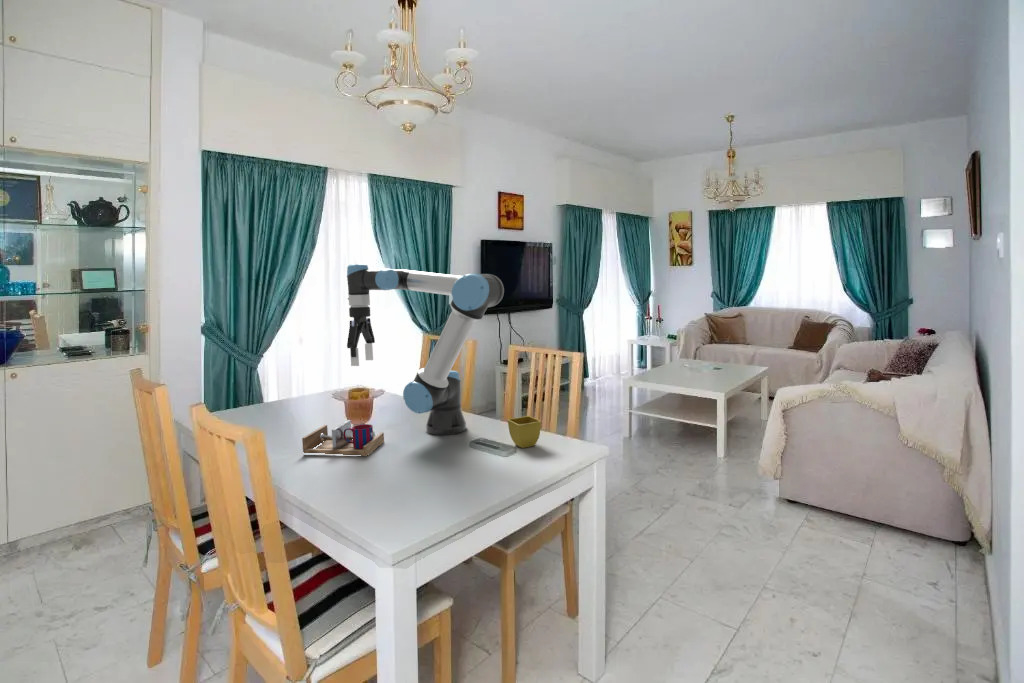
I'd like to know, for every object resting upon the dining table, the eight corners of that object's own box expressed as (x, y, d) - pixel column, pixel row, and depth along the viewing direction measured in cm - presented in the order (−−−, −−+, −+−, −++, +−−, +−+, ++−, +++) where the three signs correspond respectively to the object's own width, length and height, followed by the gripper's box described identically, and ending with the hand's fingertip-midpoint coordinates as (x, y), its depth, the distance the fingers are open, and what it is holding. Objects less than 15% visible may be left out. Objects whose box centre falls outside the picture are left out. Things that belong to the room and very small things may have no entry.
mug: (368, 449, 181) (367, 429, 181) (340, 448, 183) (339, 428, 182) (376, 443, 188) (375, 424, 187) (349, 442, 190) (348, 423, 189)
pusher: (351, 439, 192) (350, 420, 191) (336, 450, 180) (335, 429, 179) (329, 439, 193) (328, 419, 192) (313, 450, 181) (311, 429, 180)
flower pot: (519, 451, 180) (518, 424, 179) (507, 444, 187) (506, 419, 186) (542, 446, 184) (541, 421, 183) (529, 440, 191) (529, 415, 190)
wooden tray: (384, 442, 193) (383, 425, 192) (366, 456, 177) (365, 439, 176) (325, 441, 195) (324, 425, 195) (303, 455, 180) (302, 438, 179)
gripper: (363, 304, 213) (365, 358, 216) (334, 308, 189) (338, 368, 191) (381, 304, 212) (383, 357, 215) (355, 308, 188) (358, 368, 190)
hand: (362, 363), depth 203 cm, fingers open, 13 cm apart
